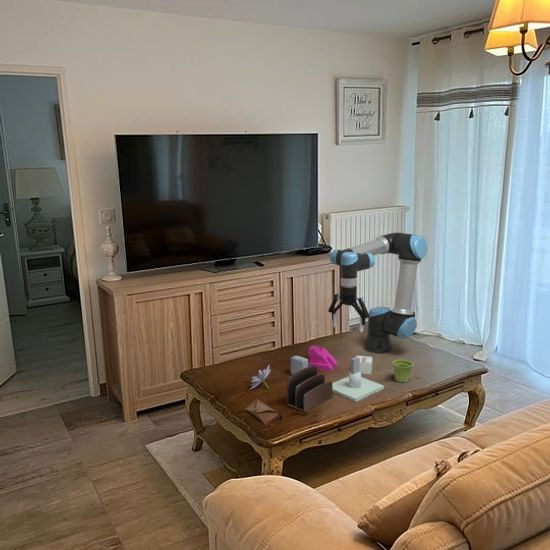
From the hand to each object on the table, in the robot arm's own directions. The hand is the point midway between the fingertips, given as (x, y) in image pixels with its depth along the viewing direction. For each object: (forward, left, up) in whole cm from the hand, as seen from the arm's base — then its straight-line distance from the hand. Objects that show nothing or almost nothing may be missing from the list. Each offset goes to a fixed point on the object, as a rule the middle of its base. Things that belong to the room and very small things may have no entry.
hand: (348, 329), depth 268 cm
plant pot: (-16, +20, -25) cm, 36 cm away
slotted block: (-12, 0, -24) cm, 27 cm away
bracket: (-2, -18, -25) cm, 30 cm away
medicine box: (+15, -18, -25) cm, 34 cm away
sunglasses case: (+56, +1, -25) cm, 61 cm away
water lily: (+38, -20, -25) cm, 50 cm away
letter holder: (+32, +6, -25) cm, 41 cm away
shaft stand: (+8, +11, -24) cm, 28 cm away
